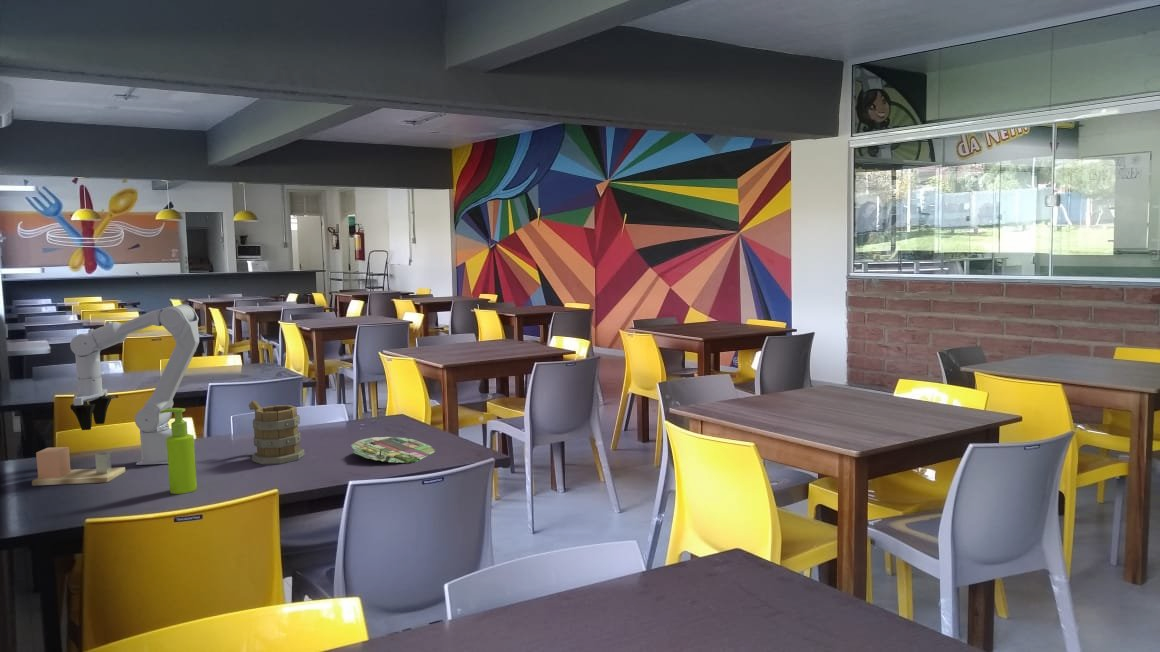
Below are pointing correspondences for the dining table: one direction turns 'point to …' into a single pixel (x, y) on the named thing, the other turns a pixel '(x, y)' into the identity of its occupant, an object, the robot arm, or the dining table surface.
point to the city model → (392, 449)
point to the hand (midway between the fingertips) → (93, 426)
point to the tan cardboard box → (53, 462)
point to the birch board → (80, 477)
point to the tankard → (276, 434)
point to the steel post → (103, 463)
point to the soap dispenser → (180, 455)
